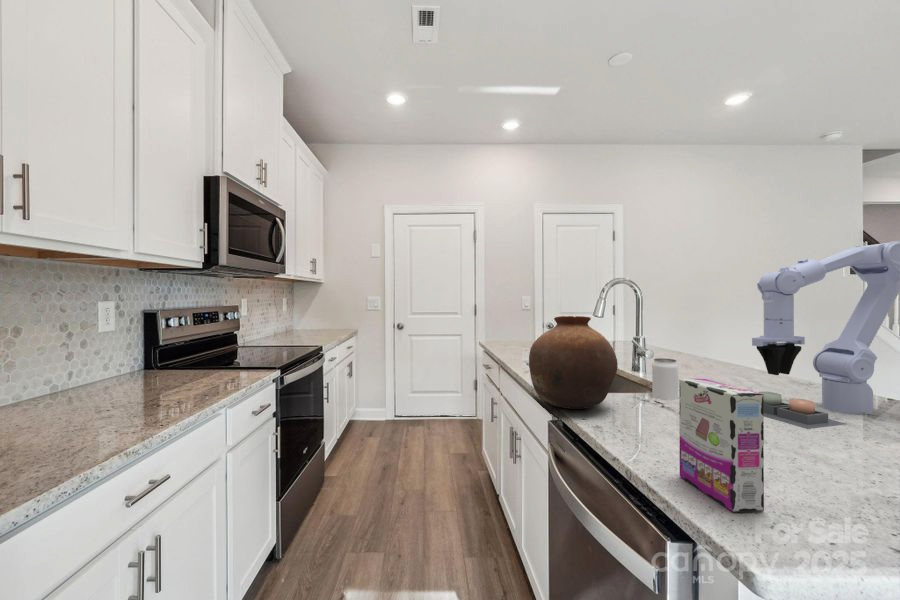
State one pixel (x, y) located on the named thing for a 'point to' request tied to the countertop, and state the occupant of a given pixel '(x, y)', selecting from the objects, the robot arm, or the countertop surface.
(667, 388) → the can
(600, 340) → the pottery
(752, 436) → the candy bar box
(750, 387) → the cream button
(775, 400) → the sage button
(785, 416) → the panel
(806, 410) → the terracotta button
